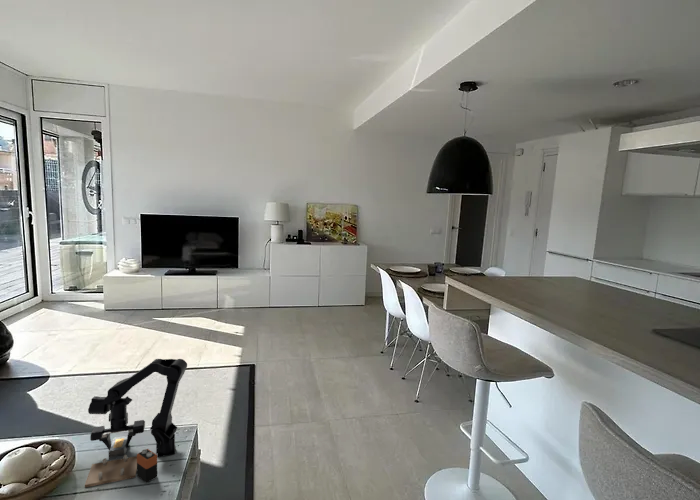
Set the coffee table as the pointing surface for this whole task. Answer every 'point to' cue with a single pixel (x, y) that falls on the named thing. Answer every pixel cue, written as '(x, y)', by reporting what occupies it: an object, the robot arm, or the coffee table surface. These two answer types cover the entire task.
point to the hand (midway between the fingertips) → (118, 449)
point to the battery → (146, 465)
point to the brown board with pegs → (112, 471)
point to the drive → (118, 448)
